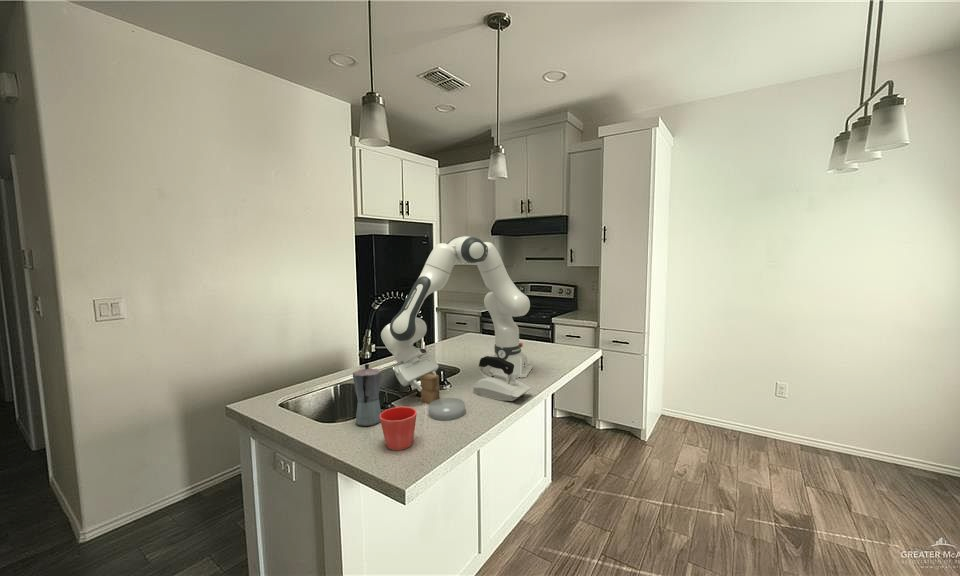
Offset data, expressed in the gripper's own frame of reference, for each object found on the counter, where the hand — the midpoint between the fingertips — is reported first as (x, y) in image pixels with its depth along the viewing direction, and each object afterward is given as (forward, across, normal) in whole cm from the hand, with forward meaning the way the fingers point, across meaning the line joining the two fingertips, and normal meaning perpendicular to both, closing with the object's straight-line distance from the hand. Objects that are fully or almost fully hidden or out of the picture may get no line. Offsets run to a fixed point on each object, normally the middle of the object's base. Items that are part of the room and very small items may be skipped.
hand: (429, 386), depth 148 cm
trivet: (+13, -6, -4) cm, 15 cm away
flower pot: (+13, -31, -4) cm, 34 cm away
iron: (+20, +18, -10) cm, 28 cm away
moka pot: (-1, -24, +10) cm, 26 cm away
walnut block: (+4, 0, +4) cm, 6 cm away
